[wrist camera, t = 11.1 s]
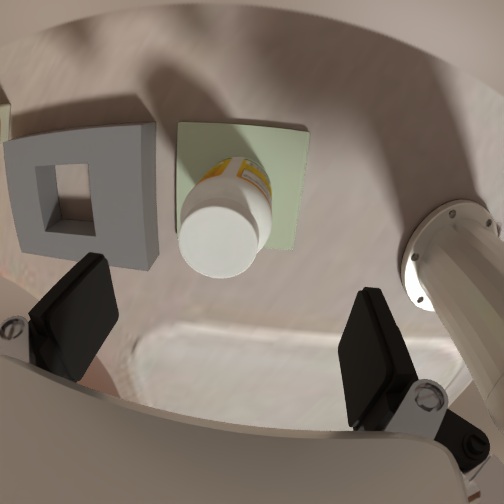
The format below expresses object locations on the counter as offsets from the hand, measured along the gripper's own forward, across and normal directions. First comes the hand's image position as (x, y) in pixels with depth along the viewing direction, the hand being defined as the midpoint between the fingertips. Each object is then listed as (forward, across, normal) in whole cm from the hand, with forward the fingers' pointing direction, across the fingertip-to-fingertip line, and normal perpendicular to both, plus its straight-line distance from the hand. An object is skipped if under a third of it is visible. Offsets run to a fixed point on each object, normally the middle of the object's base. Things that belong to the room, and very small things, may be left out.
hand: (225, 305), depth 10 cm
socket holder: (+14, +16, +1) cm, 22 cm away
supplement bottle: (+14, +2, 0) cm, 14 cm away
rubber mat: (+14, +2, 0) cm, 15 cm away
